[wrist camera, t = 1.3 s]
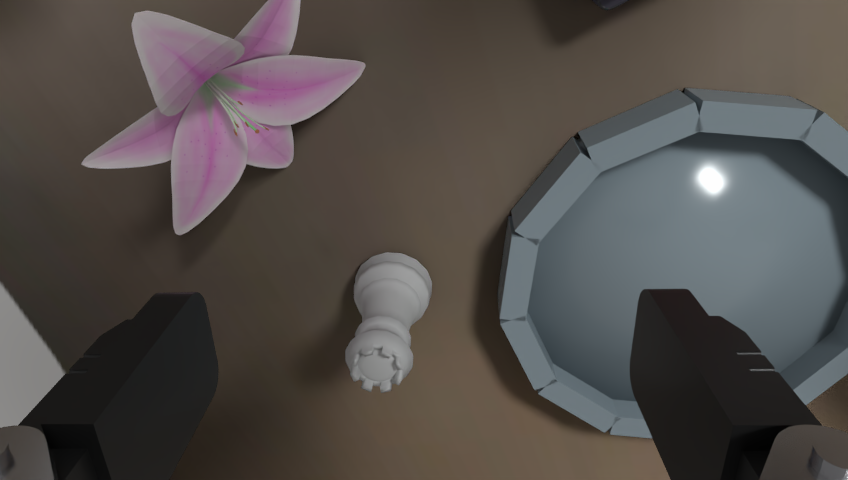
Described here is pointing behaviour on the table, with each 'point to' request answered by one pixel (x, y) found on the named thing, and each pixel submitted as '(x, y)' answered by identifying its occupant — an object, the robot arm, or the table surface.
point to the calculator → (609, 3)
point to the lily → (222, 103)
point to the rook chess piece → (386, 318)
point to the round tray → (681, 244)
